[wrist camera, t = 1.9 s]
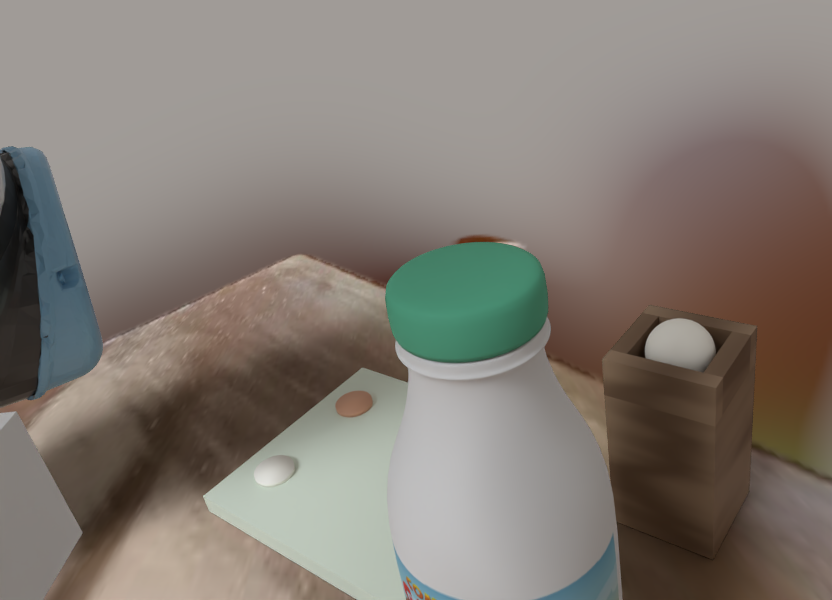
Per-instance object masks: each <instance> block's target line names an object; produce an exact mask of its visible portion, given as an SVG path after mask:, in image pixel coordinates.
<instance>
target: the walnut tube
mask: <svg viewBox="0 0 832 600" xmlns="http://www.w3.org/2000/svg"><path fill="white" fill-rule="evenodd" d="M677 318H682V319H688V320H692V321H694V322H696V323H698V324H700V325H701V326H703V327H704V328H705V329H706V330H707V331H708V332H709V334H710V335H711V337H712V339H713V341H714V344H715V348H716V356H715V357H714V358H713V360H712V361H711V363H710V364H709V366H708V367H707V368H706V370H705V371H704V373H703V372H699V371H695V370H691V369H687V368H683V367H679V366H675V365H671V364H666V363H662V362H658V361H654V360H650V359H646V358H645V345H646V341H647V338H648V336H649V335H650V333H651V332H652V331H653V329H654V328H655V327H657V326H658V325H659V324H661V323H663V322H665V321H667V320H671V319H677ZM756 341H757V326H754V325H749V324H744V323H739V322H734V321H729V320H723V319H719V318H714V317H708V316H703V315H698V314H693V313H688V312H683V311H678V310H673V309H667V308H663V307H657V306H652V305H649V306H648V307H647V308H646V309H645V311H644V312H643V313H642V314H641V315H640V316H639V317H638V318H637V320H636V321H635V322H634V323H633V324H632V326H631V327H630V328H629V329H628V330H627V331H626V333H624V335H623V336H622V337H621V338H620V339H619V340H618V341H617V343H616V344H615V345H614V346H613V347H612V348H611V349H610V350H609V352H608V353H607V354H606V355H605V356H604V357H603V359H602V366H603V381H604V395H605V409H606V423H607V437H608V451H609V465H610V479H611V487H612V492H613V498H614V506H615V515H616V522H618V523H621V524H623V525H626V526H628V527H631V528H633V529H636V530H639V531H641V532H644V533H646V534H649V535H651V536H654V537H656V538H659V539H661V540H664V541H666V542H669V543H672V544H674V545H677V546H679V547H682V548H684V549H687V550H689V551H692V552H694V553H697V554H699V555H702V556H704V557H707V558H710V559H712V560H713V559H714V557H715V555H716V553H717V551H718V549H719V547H720V545H721V544H722V542H723V540H724V538H725V536H726V534H727V532H728V530H729V529H730V527H731V525H732V523H733V521H734V519H735V517H736V515H737V513H738V512H739V510H740V508H741V506H742V504H743V502H744V500H745V498H746V497H747V495H748V493H749V484H750V464H751V443H752V423H753V402H754V381H755V361H756Z"/></svg>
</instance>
